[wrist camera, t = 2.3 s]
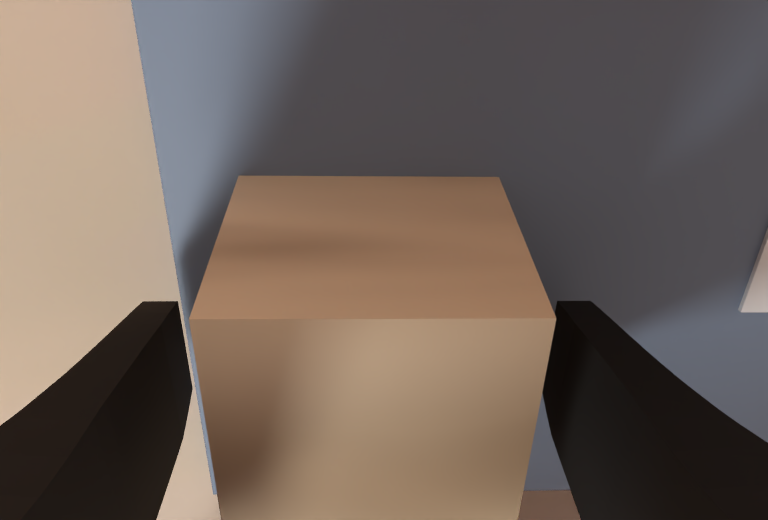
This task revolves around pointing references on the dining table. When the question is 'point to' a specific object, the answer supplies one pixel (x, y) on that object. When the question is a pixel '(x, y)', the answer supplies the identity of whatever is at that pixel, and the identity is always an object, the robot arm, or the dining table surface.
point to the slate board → (503, 148)
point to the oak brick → (370, 349)
